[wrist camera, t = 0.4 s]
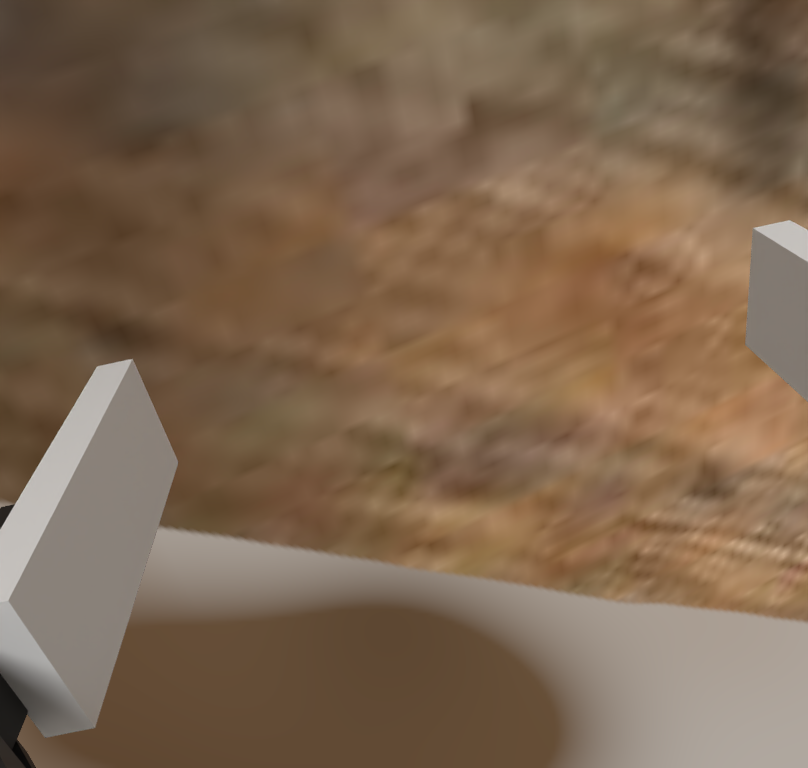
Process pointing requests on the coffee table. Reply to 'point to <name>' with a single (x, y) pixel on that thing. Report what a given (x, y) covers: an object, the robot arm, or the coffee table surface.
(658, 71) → the coffee table surface
